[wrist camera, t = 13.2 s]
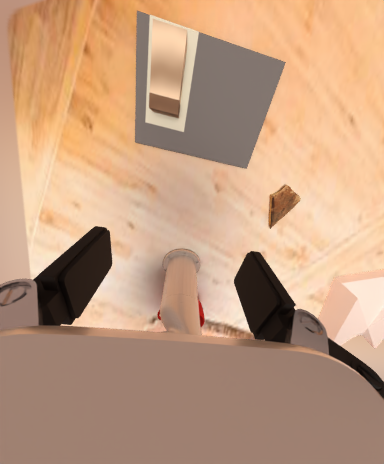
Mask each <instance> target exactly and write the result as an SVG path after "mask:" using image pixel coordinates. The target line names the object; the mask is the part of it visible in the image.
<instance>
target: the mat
mask: <svg viewBox="0 0 384 464" xmlns="http://www.w3.org/2000/svg"><path fill="white" fill-rule="evenodd" d="M153 19H155V20H159V21H162V22H165V23H168V24H171V25H174V26H177V27H180V28H183V29H186V30H187V53H186V62H185V70H184V78H183V86H182V95H181V103H180V113H179V118H175V117H171V116H167V115H163V114H159V113H155V112H153V111H152V110H151V109H150V108H149V92H150V76H151V51H152V26H153ZM285 63H286V62H283V61H281V60H278V59H275V58H272V57H269V56H266V55H263V54H260V53H258V52H255V51H252V50H249V49H246V48H243V47H240V46H237V45H235V44H232V43H229V42H226V41H223V40H220V39H217V38H214V37H211V36H209V35H206V34H203V33H200V32H198V31H195V30H193V29H190V28H187V27H184V26H181V25H178V24H175V23H172V22H170V21H167V20H164V19H161V18H158V17H155V16H152V15H148V14H145V13H142V12H140V11H137V45H136V119H135V142H136V143H140V144H144V145H149V146H153V147H157V148H161V149H166V150H170V151H174V152H178V153H183V154H187V155H191V156H195V157H199V158H204V159H208V160H212V161H216V162H221V163H225V164H229V165H233V166H238V167H242V168H246V169H247V166H248V163H249V161H250V158H251V155H252V153H253V150H254V147H255V144H256V142H257V139H258V136H259V133H260V131H261V128H262V125H263V123H264V120H265V117H266V114H267V112H268V109H269V106H270V104H271V101H272V98H273V95H274V93H275V90H276V87H277V84H278V82H279V79H280V76H281V74H282V71H283V68H284V65H285Z"/></svg>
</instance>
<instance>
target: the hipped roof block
mask: <svg viewBox="0 0 384 464" xmlns="http://www.w3.org/2000/svg"><path fill="white" fill-rule="evenodd" d="M318 320H319V321H320V322H321V323H322V324H323V325H324V327H325V329H326V332H327V337H328V338H330V339H331V340H333V341H334V342H335V343H337V344H338V345H340V346H341V345H342V344H344V343H345V342H347V341H349V340H350V339H352V338H353V337H355V336H359V335H362V336H363V337H364V338H365V339H366V340H367V341H368V342H369V343H370V344H371V345H372V347H373V348H374V349H375V348H376V347H377V346H378V345H379V344H380V343H381V342H382V341H383V339H384V269H379V270H373V271H367V272H361V273H355V274H349V275H343V276H337V277H334V278H333V281H332V284H331V286H330V289H329V291H328V294H327V296H326V299H325V301H324V304H323V307H322V309H321V312H320V314H319V317H318Z"/></svg>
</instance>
